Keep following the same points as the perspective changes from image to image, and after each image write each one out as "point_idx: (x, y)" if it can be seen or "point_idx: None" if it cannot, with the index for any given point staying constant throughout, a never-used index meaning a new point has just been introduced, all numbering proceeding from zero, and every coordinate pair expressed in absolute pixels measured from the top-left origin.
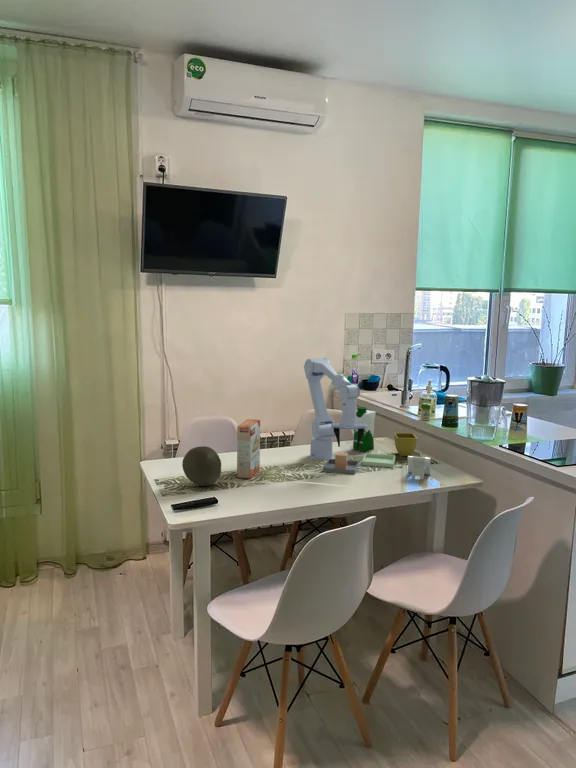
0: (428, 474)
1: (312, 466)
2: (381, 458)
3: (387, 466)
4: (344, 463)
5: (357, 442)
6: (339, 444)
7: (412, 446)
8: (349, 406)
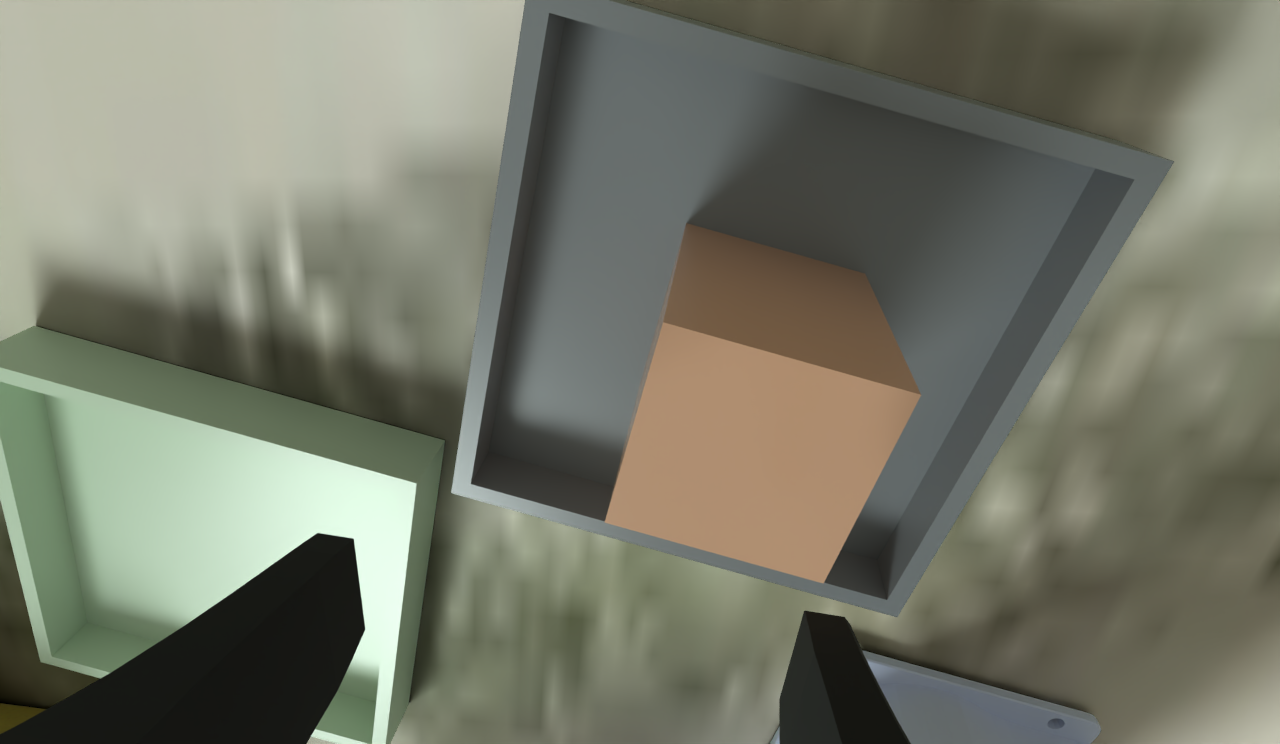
0: None
1: (1172, 470)
2: None
3: (84, 357)
4: (709, 269)
5: (259, 621)
6: (824, 654)
7: None
8: None
